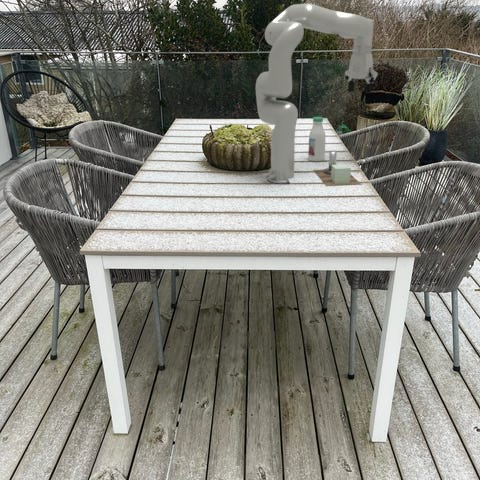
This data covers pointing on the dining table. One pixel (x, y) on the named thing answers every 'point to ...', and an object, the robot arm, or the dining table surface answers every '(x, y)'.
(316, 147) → the milk bottle
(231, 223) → the dining table surface
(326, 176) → the board
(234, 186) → the dining table surface
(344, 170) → the pale green cube
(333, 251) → the dining table surface
